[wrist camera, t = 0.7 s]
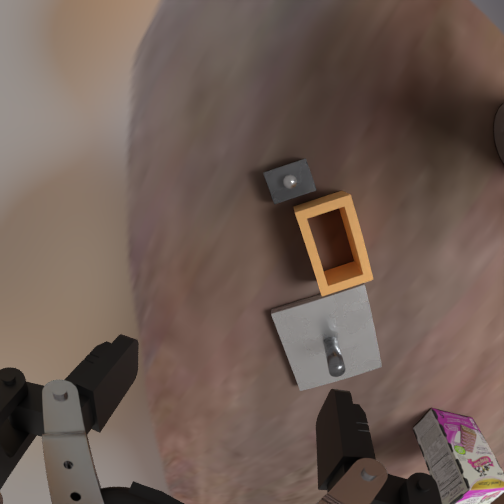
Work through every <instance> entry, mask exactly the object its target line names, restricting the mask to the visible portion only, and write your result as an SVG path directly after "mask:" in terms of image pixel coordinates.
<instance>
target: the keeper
mask: <svg viewBox="0 0 504 504" xmlns="http://www.w3.org/2000/svg"><path fill="white" fill-rule="evenodd" d="M271 315H272V318H273V321H274V323H275V326H276V329H277V331H278V334H279V336H280V339H281V342H282V344H283V347H284V350H285V352H286V355H287V357H288V360H289V363H290V365H291V368H292V370H293V373H294V376H295V378H296V381H297V384H298V386H299V389H300V391H302V390H306V389H310V388H314V387H318V386H321V385H325V384H328V383H332V382H335V381H339V380H342V379H346V378H349V377H352V376H355V375H358V374H362V373H365V372H368V371H371V370H374V369H377V368H380V367H382V365H381V359H380V354H379V349H378V343H377V338H376V333H375V328H374V324H373V319H372V314H371V310H370V305H369V301H368V296H367V292H366V288H365V284H364V283H362V284H359V285H356V286H353V287H350V288H347V289H344V290H341V291H337V292H334V293H331V294H328V295H325V296H322V295H321V294H319V295H316V296H312V297H309V298H306V299H303V300H300V301H296V302H293V303H290V304H286V305H283V306H280V307H276V308H273V309H271Z"/></svg>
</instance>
